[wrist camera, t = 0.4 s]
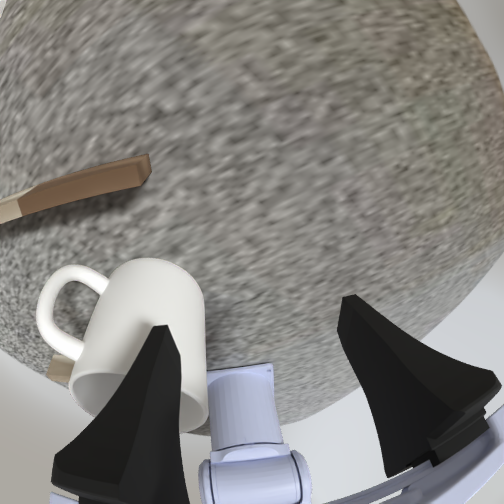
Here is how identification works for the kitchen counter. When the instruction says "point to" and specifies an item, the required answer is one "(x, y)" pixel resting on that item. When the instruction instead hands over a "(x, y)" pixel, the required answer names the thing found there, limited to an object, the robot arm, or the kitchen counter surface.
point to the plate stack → (2, 6)
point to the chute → (71, 190)
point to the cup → (131, 331)
